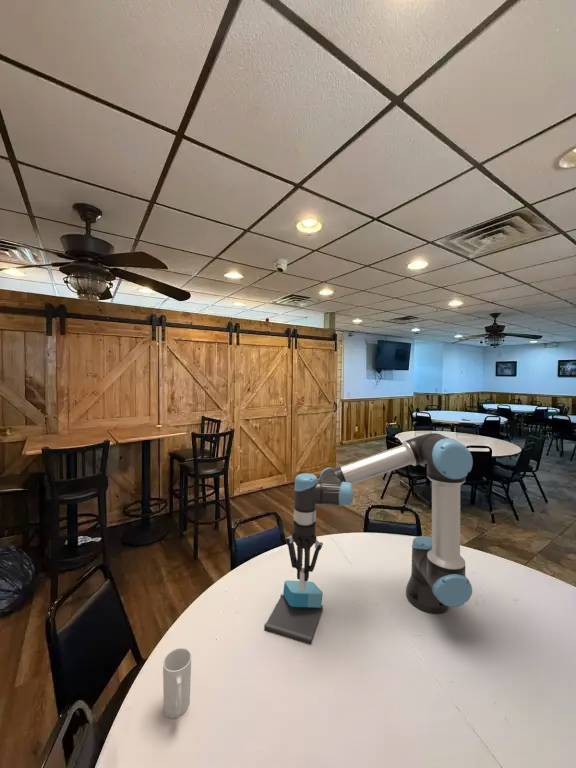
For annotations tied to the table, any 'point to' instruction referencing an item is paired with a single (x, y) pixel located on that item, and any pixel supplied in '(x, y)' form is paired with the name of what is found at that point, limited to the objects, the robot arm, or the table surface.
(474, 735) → the table surface
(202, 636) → the table surface
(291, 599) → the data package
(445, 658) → the table surface
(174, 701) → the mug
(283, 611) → the dark gray square slab
